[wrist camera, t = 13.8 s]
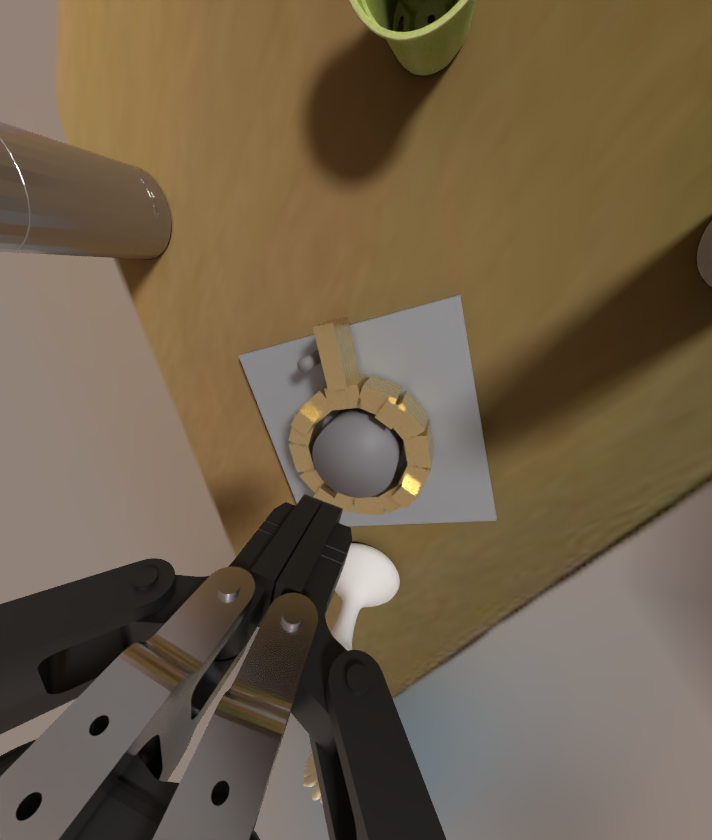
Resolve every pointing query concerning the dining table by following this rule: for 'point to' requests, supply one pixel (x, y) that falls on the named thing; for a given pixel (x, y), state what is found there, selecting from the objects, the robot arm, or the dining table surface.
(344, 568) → the flower in vase
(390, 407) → the segmented wooden ring
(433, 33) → the plant pot
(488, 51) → the dining table surface
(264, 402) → the boss plate
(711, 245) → the thermos bottle
